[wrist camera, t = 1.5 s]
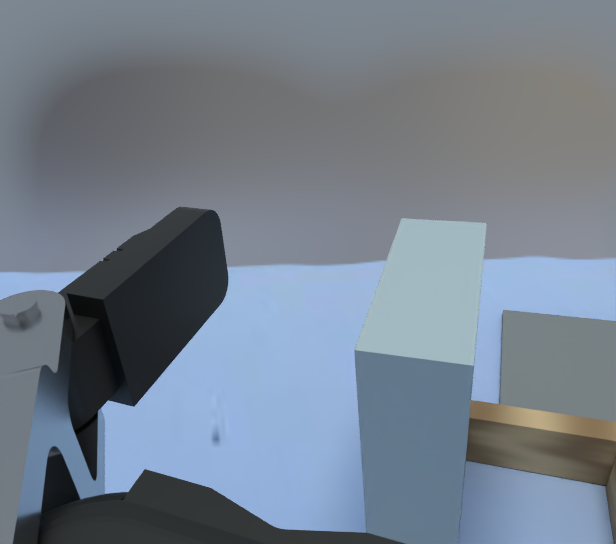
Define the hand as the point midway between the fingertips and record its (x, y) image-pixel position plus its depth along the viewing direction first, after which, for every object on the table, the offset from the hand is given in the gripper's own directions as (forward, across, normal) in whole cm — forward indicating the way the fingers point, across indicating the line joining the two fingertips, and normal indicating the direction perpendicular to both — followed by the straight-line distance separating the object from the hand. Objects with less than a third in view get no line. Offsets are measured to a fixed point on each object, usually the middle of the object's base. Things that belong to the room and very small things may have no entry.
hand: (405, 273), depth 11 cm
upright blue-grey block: (+11, 0, +24) cm, 27 cm away
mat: (+28, -9, +23) cm, 37 cm away
